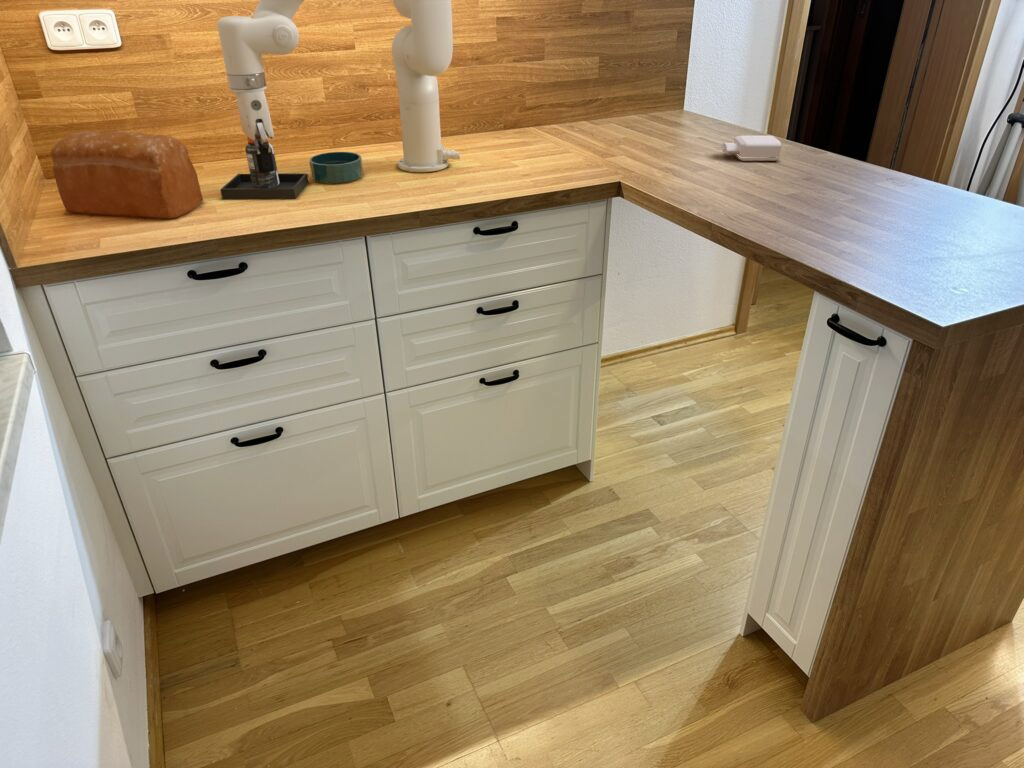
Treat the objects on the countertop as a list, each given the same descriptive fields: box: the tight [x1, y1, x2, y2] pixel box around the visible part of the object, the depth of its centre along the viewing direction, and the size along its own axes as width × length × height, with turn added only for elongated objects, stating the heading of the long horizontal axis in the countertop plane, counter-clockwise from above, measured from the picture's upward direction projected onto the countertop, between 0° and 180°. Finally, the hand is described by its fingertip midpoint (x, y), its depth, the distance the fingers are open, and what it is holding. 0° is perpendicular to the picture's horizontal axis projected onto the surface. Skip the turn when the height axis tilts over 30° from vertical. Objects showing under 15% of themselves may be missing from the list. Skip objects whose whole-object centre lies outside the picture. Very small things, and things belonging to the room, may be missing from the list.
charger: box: [714, 135, 782, 162], centre depth 187 cm, size 5×9×15 cm
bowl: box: [308, 151, 364, 185], centre depth 174 cm, size 12×12×4 cm
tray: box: [219, 172, 310, 200], centre depth 165 cm, size 16×12×2 cm
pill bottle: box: [244, 135, 279, 188], centre depth 162 cm, size 6×6×11 cm
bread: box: [49, 130, 204, 219], centre depth 152 cm, size 14×26×16 cm, turn 80°
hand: (262, 167), depth 163 cm, fingers closed on pill bottle, 6 cm apart
